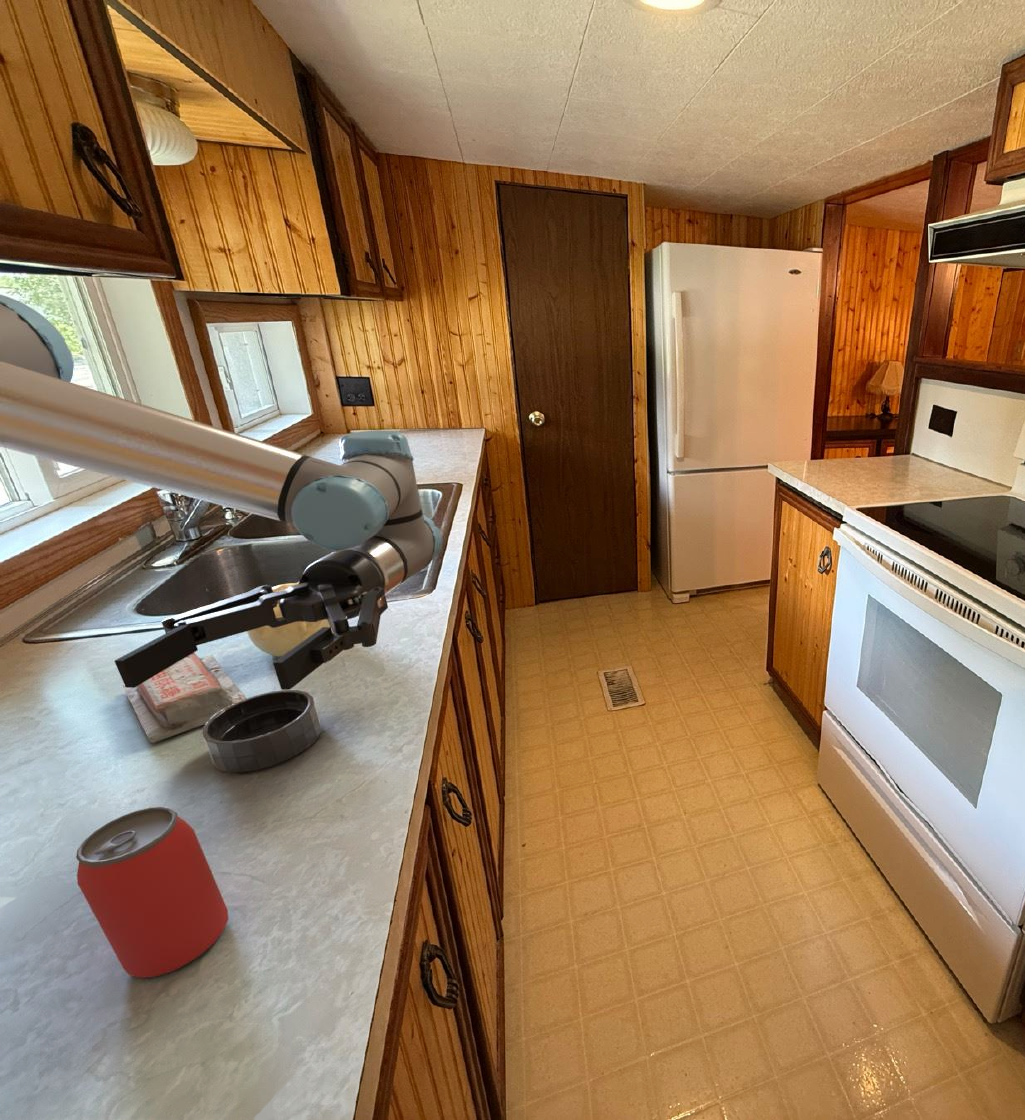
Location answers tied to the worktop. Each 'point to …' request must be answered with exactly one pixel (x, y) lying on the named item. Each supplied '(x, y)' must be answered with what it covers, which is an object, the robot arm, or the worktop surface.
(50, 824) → the worktop surface
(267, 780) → the worktop surface
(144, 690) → the packaged product
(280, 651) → the sculpture
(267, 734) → the bowl
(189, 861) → the beer can
